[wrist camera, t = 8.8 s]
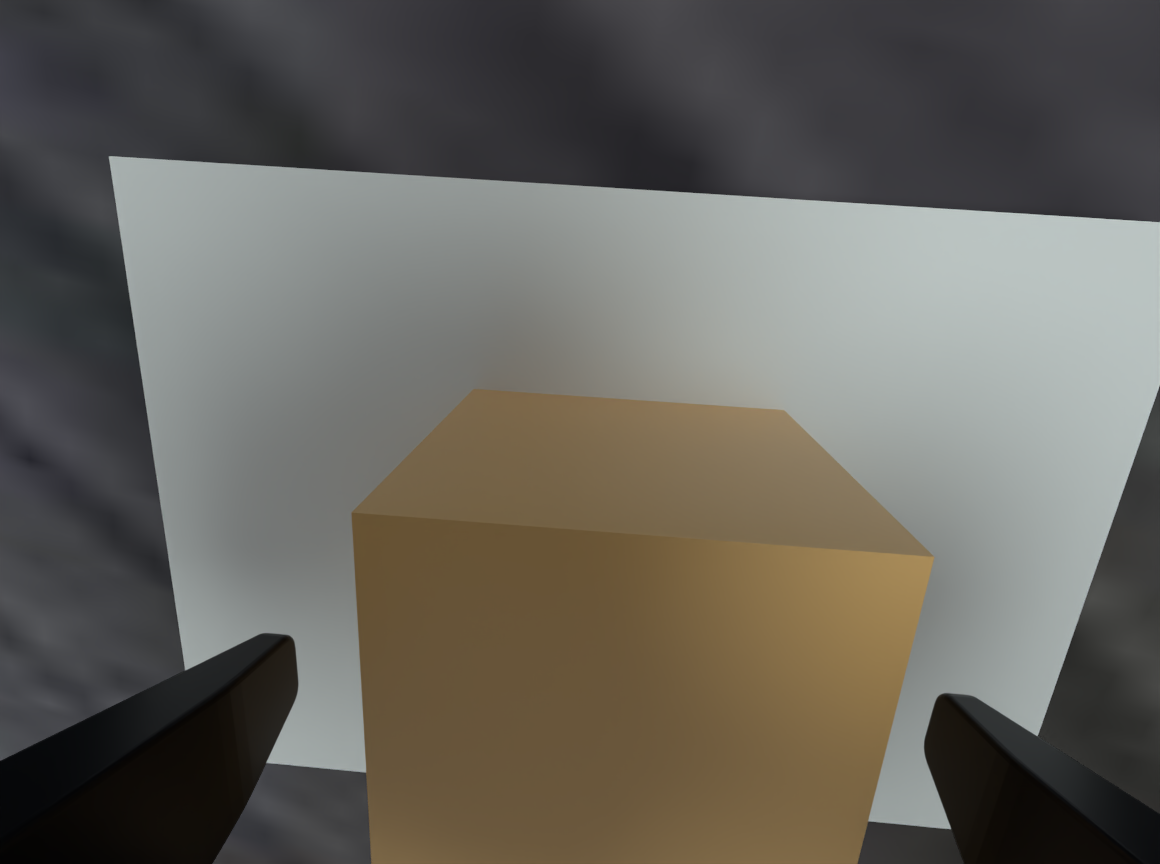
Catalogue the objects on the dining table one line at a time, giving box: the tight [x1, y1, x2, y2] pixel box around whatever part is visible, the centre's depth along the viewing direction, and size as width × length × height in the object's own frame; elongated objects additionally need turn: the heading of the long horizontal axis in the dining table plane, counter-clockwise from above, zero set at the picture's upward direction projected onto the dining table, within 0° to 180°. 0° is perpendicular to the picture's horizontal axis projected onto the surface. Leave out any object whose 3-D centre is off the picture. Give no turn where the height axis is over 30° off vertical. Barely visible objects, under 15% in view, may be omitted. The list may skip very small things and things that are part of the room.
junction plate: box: [109, 156, 1160, 829], centre depth 12 cm, size 14×20×6 cm
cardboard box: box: [351, 389, 934, 864], centre depth 10 cm, size 6×6×6 cm
